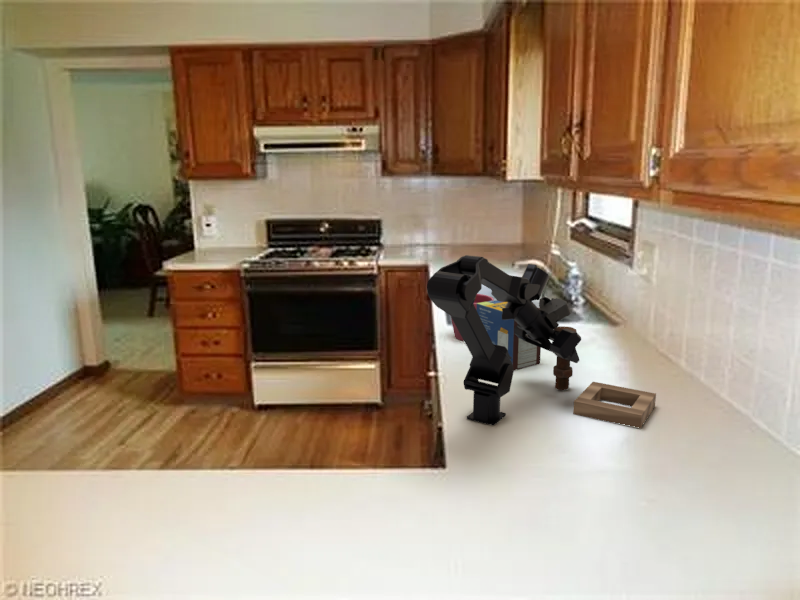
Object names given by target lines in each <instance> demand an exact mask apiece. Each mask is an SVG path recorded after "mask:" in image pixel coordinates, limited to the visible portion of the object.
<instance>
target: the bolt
mask: <svg viewBox="0 0 800 600" xmlns="http://www.w3.org/2000/svg"><path fill="white" fill-rule="evenodd" d="M562 329H569V330H572V331H574V332H577V329H576V328H574V327H572V326H565V325H564V326H562V325H561V326H560V325H559V326H558V327H557V328H556V329H554V330H555V331H558V332H561V331H562ZM577 333H578V332H577ZM552 369H553V370H552V373H553V374H552V375H553V376H555V383H554V384H555V385H554V388H555V389H556V390H557V391H568V390H569V388H570V378H572V377H573V367H572V366H571V361H569V360H566V359H563V358H560V357H558V356H556V364H555V365H554V366H553V368H552Z"/></svg>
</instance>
